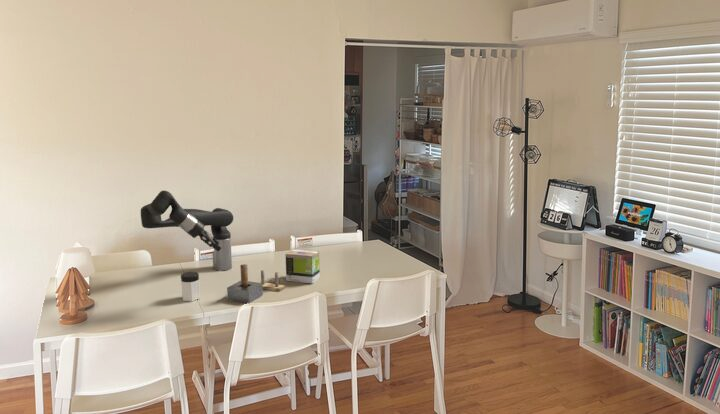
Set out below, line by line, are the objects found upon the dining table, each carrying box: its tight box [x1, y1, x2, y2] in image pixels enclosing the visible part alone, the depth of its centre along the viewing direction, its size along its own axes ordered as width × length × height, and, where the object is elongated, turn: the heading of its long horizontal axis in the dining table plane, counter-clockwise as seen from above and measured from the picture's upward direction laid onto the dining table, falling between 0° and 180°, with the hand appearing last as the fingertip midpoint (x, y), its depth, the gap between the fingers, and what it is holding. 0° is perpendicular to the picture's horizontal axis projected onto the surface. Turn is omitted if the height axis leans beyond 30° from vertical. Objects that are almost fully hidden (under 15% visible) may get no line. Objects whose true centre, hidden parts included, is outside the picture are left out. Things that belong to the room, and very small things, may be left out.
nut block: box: [226, 280, 264, 304], centre depth 294 cm, size 12×12×6 cm
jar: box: [180, 271, 201, 302], centre depth 292 cm, size 9×8×12 cm
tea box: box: [285, 248, 321, 284], centre depth 319 cm, size 15×10×15 cm
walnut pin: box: [239, 263, 249, 288], centre depth 293 cm, size 3×3×14 cm
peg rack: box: [259, 269, 286, 292], centre depth 307 cm, size 14×5×8 cm, turn 68°
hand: (218, 247), depth 286 cm, fingers open, 8 cm apart
